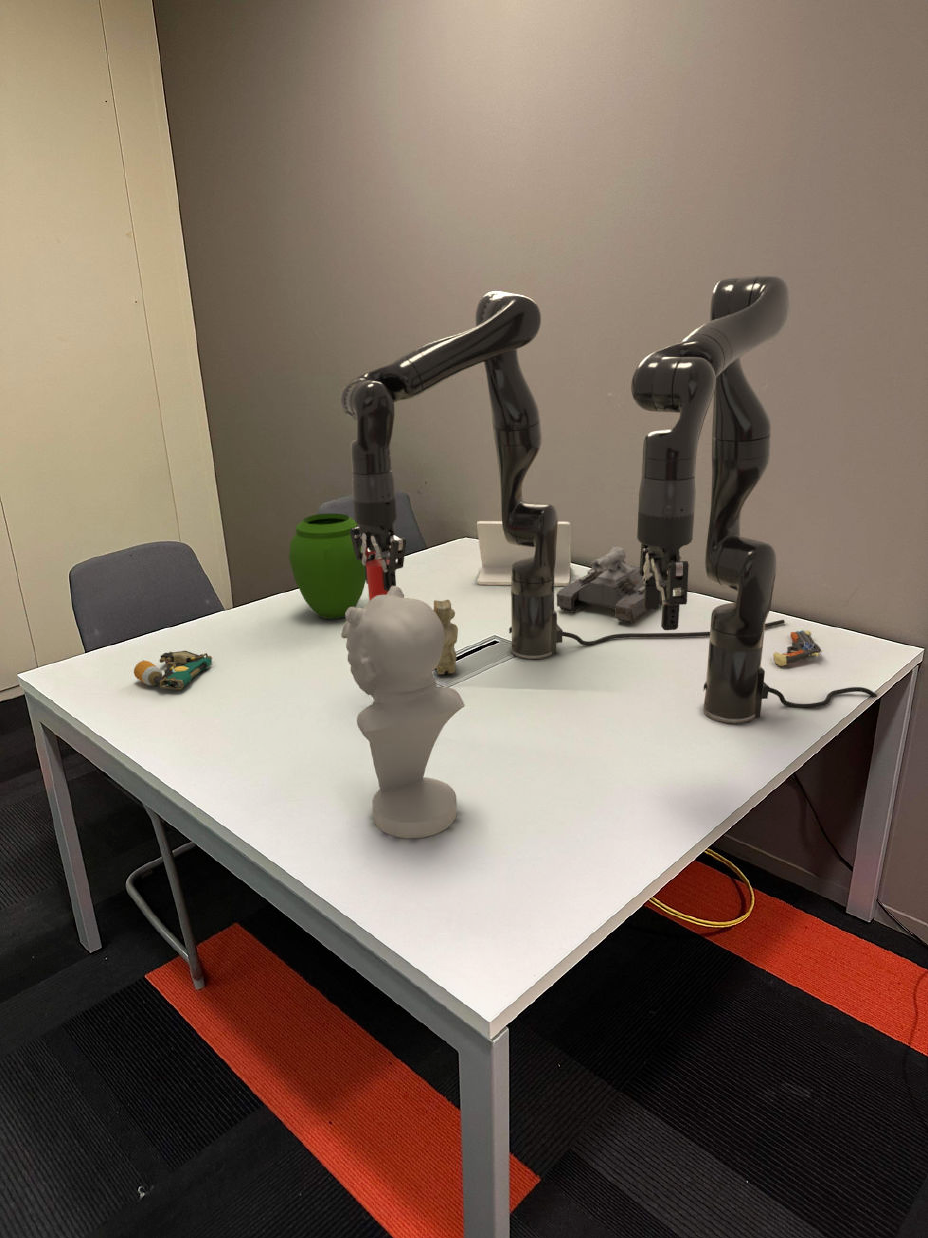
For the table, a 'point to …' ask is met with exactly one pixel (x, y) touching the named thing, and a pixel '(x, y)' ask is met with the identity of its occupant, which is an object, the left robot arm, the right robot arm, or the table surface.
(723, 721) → the right robot arm
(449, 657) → the sculpture
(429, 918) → the table surface
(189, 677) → the spray gun
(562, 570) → the tablet stand
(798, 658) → the toy gun
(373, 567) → the red cylinder
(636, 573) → the toy
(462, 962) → the table surface
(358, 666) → the bust sculpture
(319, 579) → the vase
